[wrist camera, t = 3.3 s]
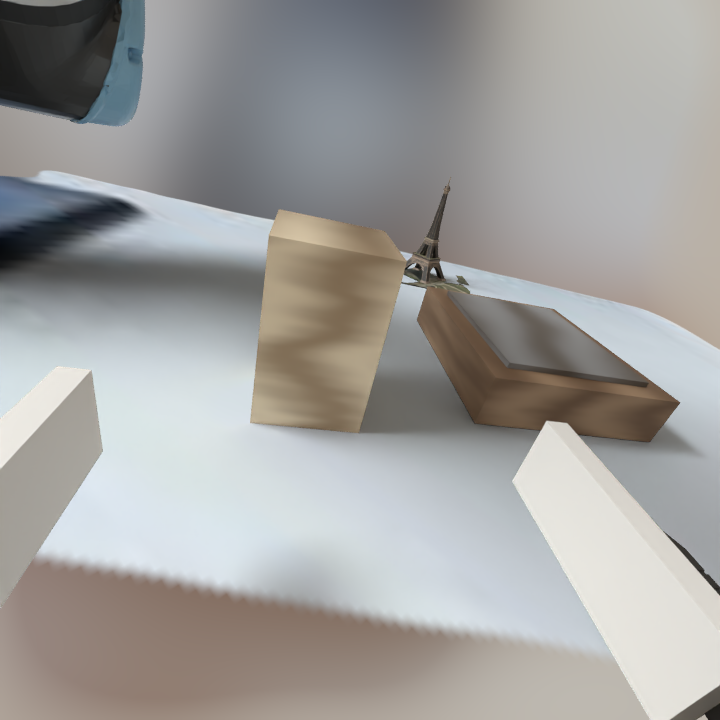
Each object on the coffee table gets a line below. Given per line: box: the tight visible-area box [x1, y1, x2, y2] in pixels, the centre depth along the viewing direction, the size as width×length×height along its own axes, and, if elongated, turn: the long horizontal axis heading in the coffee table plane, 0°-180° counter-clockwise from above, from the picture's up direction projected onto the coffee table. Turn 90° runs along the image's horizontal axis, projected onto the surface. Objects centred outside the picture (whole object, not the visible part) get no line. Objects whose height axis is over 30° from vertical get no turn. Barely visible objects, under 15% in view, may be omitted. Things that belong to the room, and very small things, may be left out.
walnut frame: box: [417, 286, 680, 442], centre depth 32 cm, size 14×16×4 cm
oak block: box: [250, 209, 407, 433], centre depth 21 cm, size 6×6×10 cm
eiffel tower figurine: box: [401, 180, 470, 294], centre depth 50 cm, size 15×10×13 cm
